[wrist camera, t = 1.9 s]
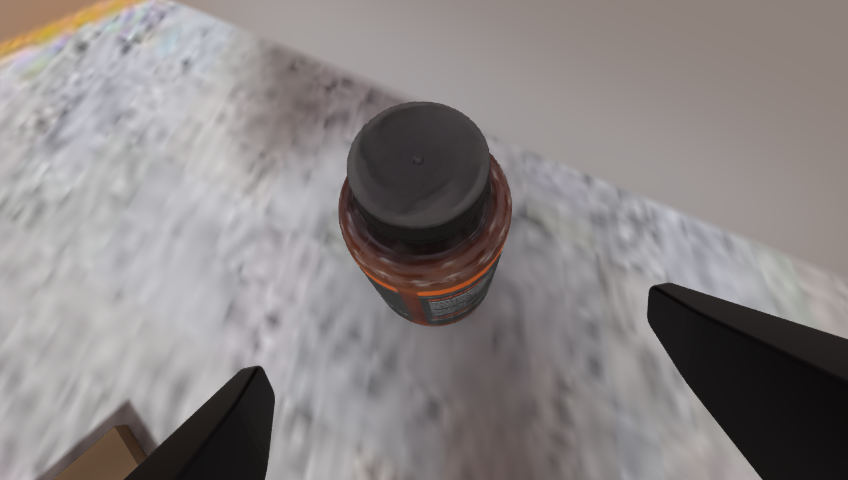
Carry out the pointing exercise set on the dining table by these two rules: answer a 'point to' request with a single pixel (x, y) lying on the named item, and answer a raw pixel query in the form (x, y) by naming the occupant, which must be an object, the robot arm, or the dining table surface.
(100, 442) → the octagonal bottle holder
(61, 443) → the dining table surface
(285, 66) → the dining table surface
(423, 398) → the dining table surface
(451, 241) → the supplement bottle
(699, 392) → the robot arm
